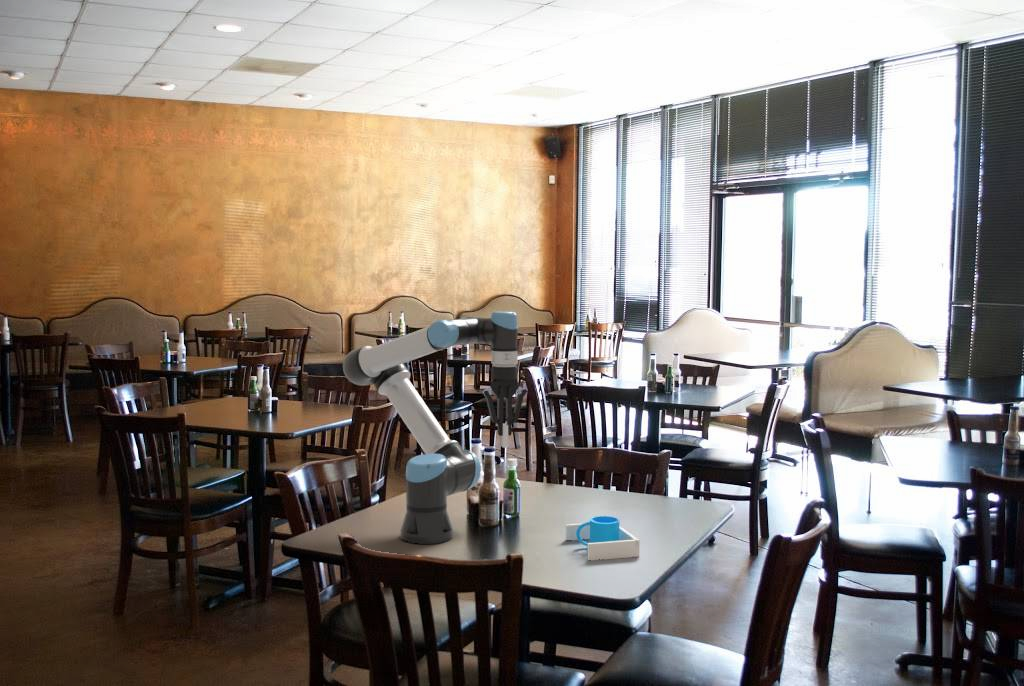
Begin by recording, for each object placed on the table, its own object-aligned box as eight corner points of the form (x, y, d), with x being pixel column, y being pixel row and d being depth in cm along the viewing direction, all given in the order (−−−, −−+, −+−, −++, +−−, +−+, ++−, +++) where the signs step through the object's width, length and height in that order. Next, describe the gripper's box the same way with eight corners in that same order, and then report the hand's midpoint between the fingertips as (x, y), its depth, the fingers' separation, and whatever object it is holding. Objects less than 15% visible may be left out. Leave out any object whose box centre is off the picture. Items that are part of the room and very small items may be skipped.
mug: (619, 544, 271) (619, 516, 270) (619, 553, 263) (619, 524, 262) (576, 543, 272) (576, 515, 271) (575, 552, 264) (575, 522, 263)
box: (588, 560, 256) (588, 544, 256) (565, 539, 275) (565, 524, 275) (639, 556, 260) (639, 540, 259) (613, 536, 279) (613, 521, 279)
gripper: (485, 367, 270) (485, 450, 271) (530, 366, 273) (529, 448, 275) (479, 364, 277) (479, 445, 279) (522, 363, 280) (522, 443, 282)
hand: (504, 446), depth 277 cm, fingers closed
